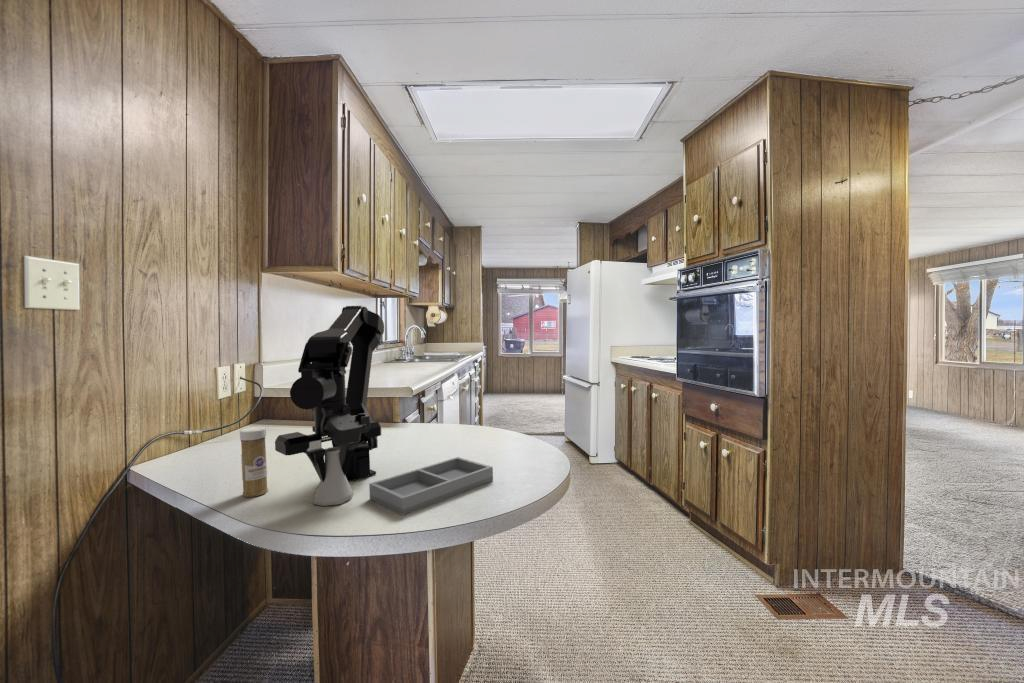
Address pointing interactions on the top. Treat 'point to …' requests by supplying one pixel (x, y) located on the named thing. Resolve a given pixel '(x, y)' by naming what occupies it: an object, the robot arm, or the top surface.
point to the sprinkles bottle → (254, 461)
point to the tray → (429, 484)
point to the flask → (333, 481)
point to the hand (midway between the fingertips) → (332, 479)
